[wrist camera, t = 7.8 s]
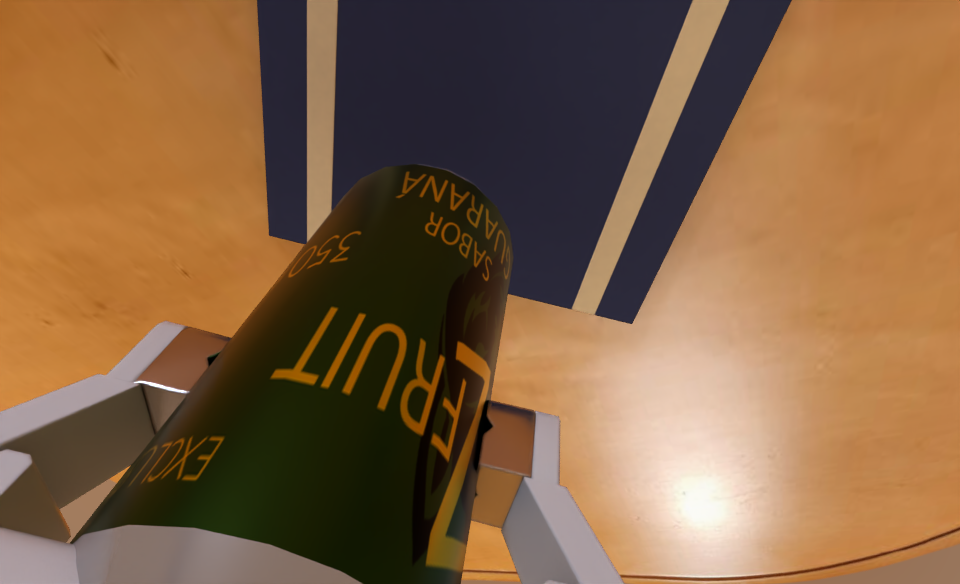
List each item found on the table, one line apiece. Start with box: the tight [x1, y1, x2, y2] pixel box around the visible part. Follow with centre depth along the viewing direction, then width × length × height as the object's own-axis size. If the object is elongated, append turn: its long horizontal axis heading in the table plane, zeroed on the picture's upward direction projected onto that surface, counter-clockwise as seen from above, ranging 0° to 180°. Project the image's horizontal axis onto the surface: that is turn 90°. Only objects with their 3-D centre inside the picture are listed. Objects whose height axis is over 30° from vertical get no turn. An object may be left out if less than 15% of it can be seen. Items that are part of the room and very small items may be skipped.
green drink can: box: [70, 164, 514, 584], centre depth 11 cm, size 5×5×12 cm
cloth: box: [257, 0, 791, 324], centre depth 26 cm, size 22×18×1 cm
